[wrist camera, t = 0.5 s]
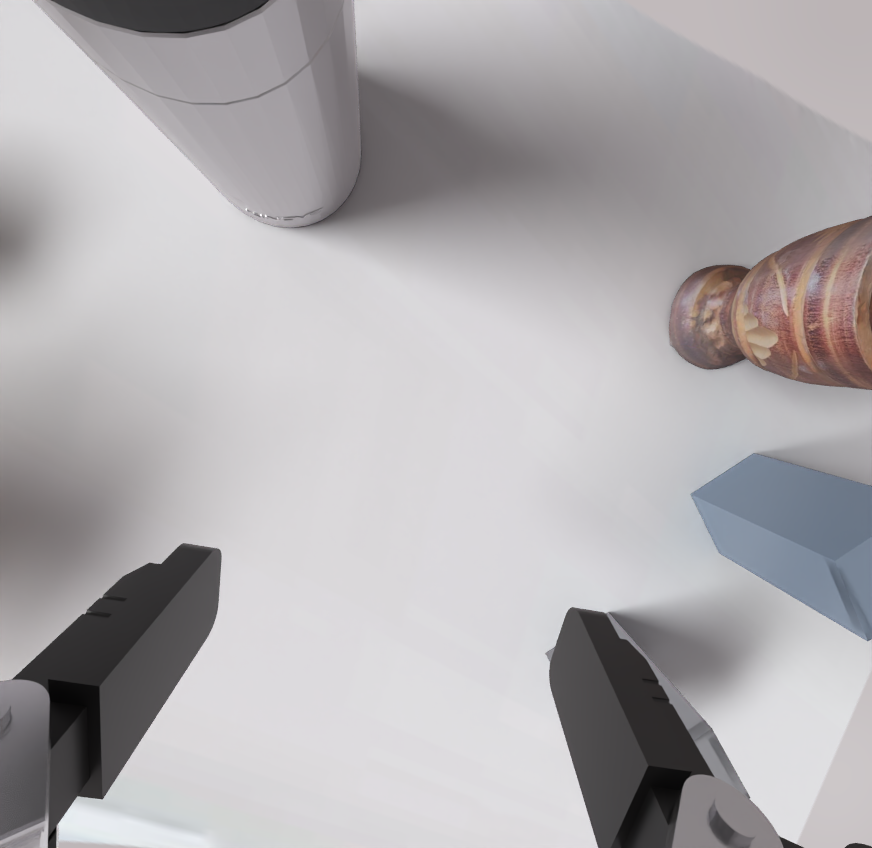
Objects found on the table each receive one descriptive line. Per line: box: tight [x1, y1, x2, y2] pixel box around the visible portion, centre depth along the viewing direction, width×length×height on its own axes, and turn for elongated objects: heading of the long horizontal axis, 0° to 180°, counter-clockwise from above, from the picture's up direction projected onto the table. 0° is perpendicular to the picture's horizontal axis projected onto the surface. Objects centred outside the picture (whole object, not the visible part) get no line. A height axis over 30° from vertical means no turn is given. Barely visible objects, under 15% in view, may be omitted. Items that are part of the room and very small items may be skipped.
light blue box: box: [691, 453, 872, 641], centre depth 30 cm, size 6×6×11 cm
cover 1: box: [546, 612, 750, 799], centre depth 30 cm, size 6×6×11 cm
